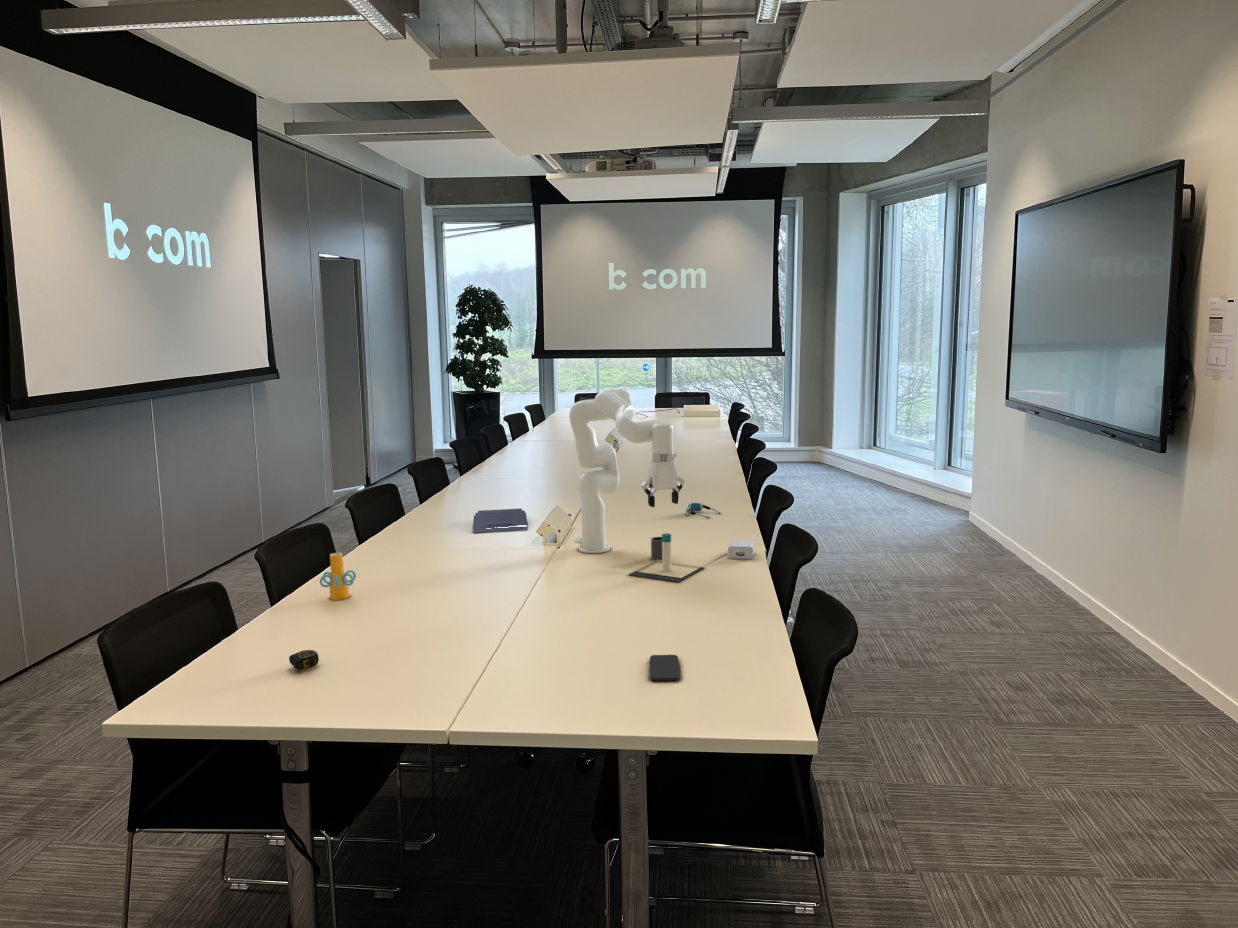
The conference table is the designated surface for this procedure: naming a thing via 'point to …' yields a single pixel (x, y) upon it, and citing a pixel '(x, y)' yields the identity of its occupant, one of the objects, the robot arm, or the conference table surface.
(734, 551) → the charger
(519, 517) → the dark grey flat slab
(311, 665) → the tape measure
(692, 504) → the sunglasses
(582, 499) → the robot arm
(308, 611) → the conference table surface
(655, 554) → the pen cup
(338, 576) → the cylinder
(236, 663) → the conference table surface
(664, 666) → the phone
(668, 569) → the marker
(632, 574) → the mat
